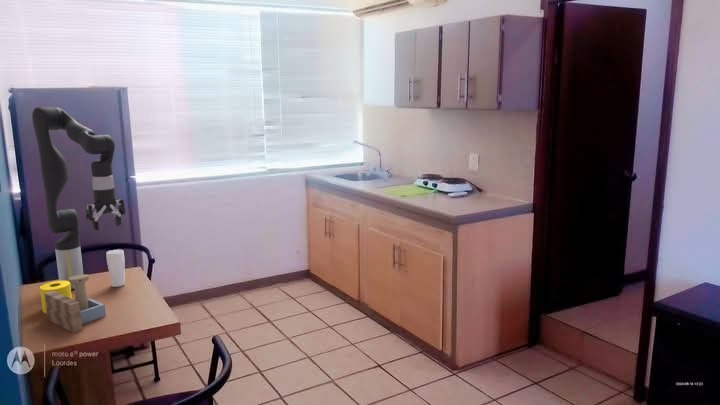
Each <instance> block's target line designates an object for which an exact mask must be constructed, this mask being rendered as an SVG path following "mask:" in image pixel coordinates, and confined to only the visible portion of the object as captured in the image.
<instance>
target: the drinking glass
mask: <svg viewBox="0 0 720 405" xmlns="http://www.w3.org/2000/svg"><path fill="white" fill-rule="evenodd" d="M105 255H106V264H107V268H108V273H109V278H110V285H111V287H112V288H119V287H123V286H125V285H126V281H125V279H126V278H125V272H126V270H125V269H126V268H125V267H126V266H125V253H124V250H123V249H113V250H111V249H110V250H107V251H106V254H105Z"/></svg>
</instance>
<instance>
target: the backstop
mask: <svg viewBox="0 0 720 405" xmlns="http://www.w3.org/2000/svg"><path fill="white" fill-rule="evenodd" d="M44 295H45V302H46V310H47V313H46V316H47V320H49V322H50V321H51V322H52V323H54V324H56V325H58V326H59V327H62V328H64V329H66V330H67V331H70V332H72V333H73V334H74V333H76V332H80V331H82V330H83V324H82V322H81V313H80V305H79V302H77V301H75V299H73V298H72V299H70V298H68V297H66V296H64V295H61V294H59V293H57V292H55V291H51V292H47V293H44Z"/></svg>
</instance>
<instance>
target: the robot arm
mask: <svg viewBox="0 0 720 405" xmlns="http://www.w3.org/2000/svg"><path fill="white" fill-rule="evenodd" d="M31 118H32V125H33V128H34V133H35V138H36V142H37V146H38V152H39V162H40V169H41V175H42V182H43V187H44V188H43V189H44V193H45V194H44V195H45V203H46V204H45V206H46V219H47V220H46V221H47V228H48V229H49V232H50V233H51V234H61V233H66V234H65V235H64V236H63V237H61V238H59V239H58V240H56V241H55V242H54V250H55V256H56V259H55V260H56V265H57V266H56V267H57V274H58V275H57V276H58V281H69V277H72V276H76V275H83V274H84V269H83V268H84V267H83V258H82V251H81V250H82V249H81V242H80V241H81V238H80V223H79V215H78V213H77V211H76V210H75V209H74V208H68V209H60V210H59V209H58V202H59V198H60V196H61V194H62V192H63V191H64V189H65V187H66V185H67V184H68V180H69V171H68V164H67V161H66V159H65V157H64V155H63V154H62V153H61V152H60V151H59V150H58V148H56V147H55V145H54V144H53V142H52V140H51V135H50V132H49V131H58V130H63V131H66V135H67V137H68V138H69V139H70V140H71V141H73V142H74V143H76V144H77V145H79V146H81V148H82V149H83V150H84V152H86V153H87V154H90V155H100V156H99V158H98V159H96V160H93V161H92V162H91V164H90V167H91V168H90V169H91V179H92V180H91V184H92V192H93V193H92V194H93V195H92V196H93V201H94V202H93V204H88V203H87V204H86V205H85V215H86V216H85V219H86V220H87V221H90V222H91V224H92V228H93V230H95V231H100V227H99V226H100V225H99V218H100V217H102V215H104V214H107V213H108V214H110V213H112V214H113V215H114V219H115V226H116V227H120V226H121V224H122V218H121V217H122V216H123V215H125V214H126V207H125V202H124V200H123V199H121V198H119V199H117V200H116V190H115V181H114V176H113V168H112V165H113V164H112V163H113V159H114V154H115V149H116V144H115V141H114V139H113V137H112V136H110V135H109V134H96V133H95V131H93V130H92V129H90V128H89V127H86V126H85V125H82V124H81V123H79V122H77V121H76V120H75V119H74V118H73V117H72V116H71V115H70V114H68V113H67V112H66V111H65V110H64V109H62V108H60V107H57V106H41V107H40V106H39V107H35V108H34V109H33V110H32V113H31ZM116 206H117V207H118V209H117V208H116ZM94 209H95V210H94ZM93 210H94V211H93ZM70 286H71V290H75V286H74V284H73V283H70Z"/></svg>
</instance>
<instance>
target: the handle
mask: <svg viewBox="0 0 720 405" xmlns="http://www.w3.org/2000/svg"><path fill="white" fill-rule="evenodd" d="M89 279H90V276H89V274H87V273H86V274H85V273H83V275H76V276H72V277H69V282H70V283H73V284H74V286H75V289H74V300H75V301H77V302H79V305H80V311H83V310H86V309H88V299H89V298H88V296H87V295H88V294H87V289H86V282H87V281H88V280H89Z"/></svg>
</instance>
